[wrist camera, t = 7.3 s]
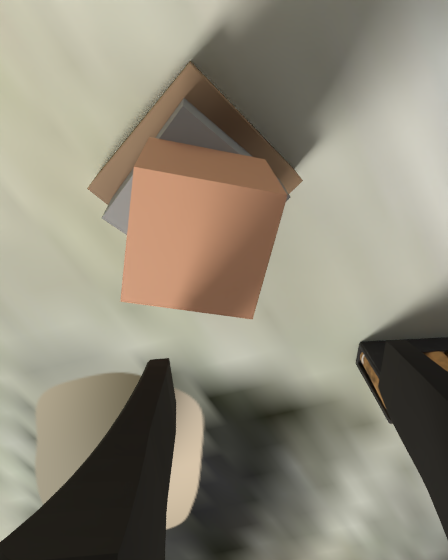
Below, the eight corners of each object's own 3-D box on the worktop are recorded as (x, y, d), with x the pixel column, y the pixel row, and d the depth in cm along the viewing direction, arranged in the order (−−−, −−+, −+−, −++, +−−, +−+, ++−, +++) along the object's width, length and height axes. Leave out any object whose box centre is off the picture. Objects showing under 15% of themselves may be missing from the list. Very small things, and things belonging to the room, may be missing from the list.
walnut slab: (291, 166, 21) (302, 180, 19) (200, 256, 24) (201, 277, 22) (190, 60, 19) (189, 63, 17) (98, 173, 21) (87, 188, 19)
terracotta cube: (265, 159, 16) (287, 195, 12) (240, 261, 18) (252, 319, 14) (149, 136, 16) (133, 166, 12) (137, 245, 18) (120, 301, 14)
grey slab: (279, 179, 19) (290, 197, 17) (205, 262, 21) (206, 288, 19) (183, 97, 17) (182, 105, 15) (111, 197, 19) (101, 218, 17)
